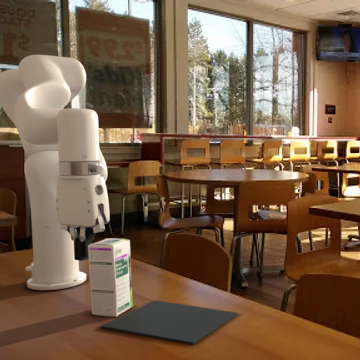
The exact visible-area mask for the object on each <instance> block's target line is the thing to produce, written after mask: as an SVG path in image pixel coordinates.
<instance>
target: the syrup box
mask: <svg viewBox="0 0 360 360" xmlns="http://www.w3.org/2000/svg"><path fill="white" fill-rule="evenodd" d="M88 255H89V259H88V272H89V293H90V309H91V315H94V316H102V317H111V318H112V317H113V318H114V317H115V318H116V317H117V318H118V316H119V315H121V314H123V313H125V312H126V311H128V310H130V309H131V308H133V307H134V303H133V285H132V284H133V281H132V279H133V278H132V259H131V258H132V257H131V240H130V239H127V238H118V237H117V238H116V237H114V238H112V237H111V238H104V239H102V240H99V241H97V242H96V241H95V242H94V243H93V242H92V244H89V245H88Z"/></svg>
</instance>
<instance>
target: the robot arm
mask: <svg viewBox="0 0 360 360" xmlns="http://www.w3.org/2000/svg"><path fill="white" fill-rule="evenodd" d="M84 67H85V66H84V65H83V64H82V63H81V61H79V60H78V59H76V58H74V57H67V56H57V55H49V54H30V55H28V56H25V57H24V58H23V59H21V60H20V62H19V64H18V67H17V68H11V69H6V70H4V71H2V72H1V73H0V105H1V107H2V109H3V111H4V112H5V114H6V115H7V117H8V118H9V119H10V120H11V122H12V123H13V124H14V125H15V127H16V131H17V133H18V137H19V139H20V143H21V145H22V148H23V151H24V152H25V154H26V156H27V158H26V160H25V162H24V166H23V168H24V176H25V180H26V186H27V190H28V195H29V196H28V197H29V203H30V217H31V236H32V237H31V239H32V255H33V257H32V258H33V260H32V262H31V263H30V264H29V265H28V266H25V269H24V271H25V272H26V273H31V277H30V278H29V279H27V281H26V287H27V288H28V289H31V290H35V291H55V290H62V289H63V290H64V289H68V288H72V287H76V286H79V285H81V284H83V283H84V282H86V281H87V274H86V273H85V272H83V271H80V262H82V261H86V260H89V255H88V245H89V244H93V240H94V239H95V237H96V235H97V234H98V233H102V232H105V231H106V228H105V224H108V223H109V222H110V221H111V219H110V216H111V215H110V202H109V196H108V190H107V189H108V188H107V184H106V182H107V179H108V167H107V162H106V160H105V157H104V155H103V153H102V151H101V148H100V132H99V131H100V130H99V129H100V127H99V116H98V113H97V111H95V110H94V109H90V108H78V107H77V108H74V107H73V108H72V107H71V108H70V107H69V108H65V107H66V106H67V105H68V104H69V103H70V102H72V101H73V100H74V99H76V97H77V96H79V95H80V93H82V92H83V90H84V89H85V86H86V83H87V73H86V70H85V69H86V68H84Z"/></svg>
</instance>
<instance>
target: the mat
mask: <svg viewBox="0 0 360 360" xmlns="http://www.w3.org/2000/svg"><path fill="white" fill-rule="evenodd" d="M237 315H238V313H237V312H232V311H228V310H227V311H226V310H220V309H214V308H206V307H201V306H200V307H199V306H193V305H187V304H180V303H173V302H167V301H161V300H152V301H151V302H149V303H147V304H145V305H143V306H140V307H138V308H136V309H134V310H132V311H130V312H128V313H126V314H124V315H122V316H119V317H117V318H115V319H113V320H111V321H109V322H107V323H105V324H102V325H101V328H102V329H106V330H110V331H111V330H112V331H117V332H121V333H122V332H123V333H128V334H133V335H139V336H144V337H150V338H155V339H161V340H165V341H171V342H177V343H182V344H187V345H188V344H189V345H194V344H196V343H198V342H199V341H200V340H202V339H204V338H205V337H206V336H208V335H209V334H211V333H212V332H214V331H215V330H217V329H218V328H220V327H221V326H223V325H224V324H226V323H227V322H228V321H230V320H232V319H233V318H234V317H236V316H237Z"/></svg>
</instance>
